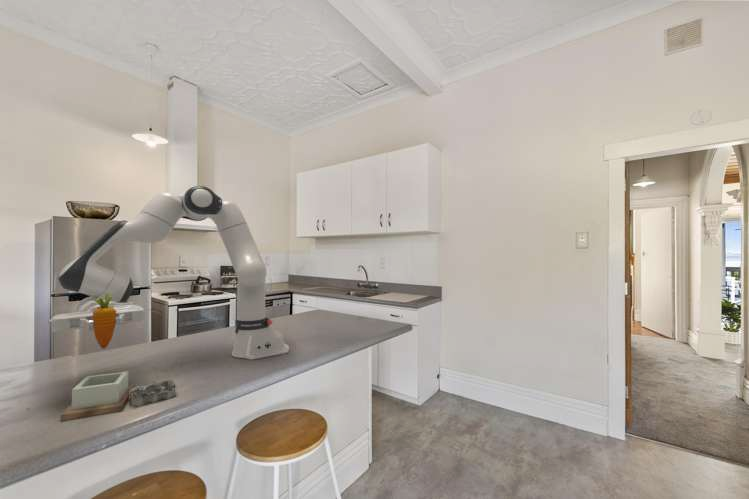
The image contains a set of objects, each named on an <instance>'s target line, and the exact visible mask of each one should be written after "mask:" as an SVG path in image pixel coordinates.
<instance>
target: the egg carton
mask: <svg viewBox="0 0 749 499" xmlns="http://www.w3.org/2000/svg"><path fill="white" fill-rule="evenodd" d="M176 389H177V386H176V384H175V382H174V380H173V378H168V379H166V380H163V381H159V382H156V381H155V382H153V383H150V384H149V383H148V384H146V385H137V386H136V385H135V387H134V388H133V389H131V390H130V391H129V392H130V393H129V394H130V397H129V398H130V399H129V403H131V405H130V406H131V407H133V408H134V407H142V406H143V405H146V404H147V403H156V402H158V401H159V400H162V399H163V400H164V399H166V400H168V399H171V398H173V397H174V396H176Z"/></svg>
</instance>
